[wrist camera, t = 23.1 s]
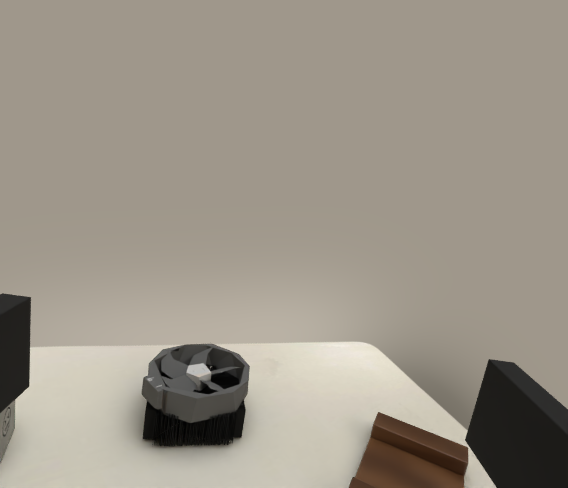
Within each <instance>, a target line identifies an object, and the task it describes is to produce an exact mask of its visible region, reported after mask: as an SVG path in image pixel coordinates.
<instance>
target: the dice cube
mask: <svg viewBox="0 0 568 488" xmlns="http://www.w3.org/2000/svg"><path fill="white" fill-rule="evenodd" d="M14 428H15V400H14V401H13V402H12V403H11V404H10V405H9V406H8V407H7V408H6V409H4V410H3V411H2V412H1V413H0V463H1V460H2V458H3V455H4V453H5V450H6V448H7V446H8V443H9V441H10V438H11V436H12V433H13V431H14Z"/></svg>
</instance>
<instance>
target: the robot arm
mask: <svg viewBox="0 0 568 488" xmlns="http://www.w3.org/2000/svg"><path fill="white" fill-rule="evenodd" d="M30 312H31V297H24V296H16V295H10V294H0V413H1V412H2V411H3V410H4V409H6V408H7V407H8V406H9V405H10V404H11V403H12V402H13V401H14V400H15V399H16V398H17V397H18V396H19V395H20V394H22V393H23V392H24V391H25V390H26V389H27V388H28V387H29V370H30V314H31V313H30ZM465 441H466V442H467V444H468V445H469V447H470V448H471V450H472V451H473V453H474V454H475V456H476V457H477V459H478V460H479V462H480V463H481V465H482V466H483V468H484V469H485V471H486V472H487V474H488V475H489V477H490V478H491V480H492V481H493V483H494V484H495V486H496V487H497V488H568V409H566V408H565V407H564V406H563V405H562V404H561V403H560V402H558V401H557V400H556V399H555V398H554V397H553V396H552V395H550V394H549V393H548V392H547V391H546V390H545V389H544V388H542V387H541V386H540V385H539V384H538V383H537V382H535V381H534V380H533V379H532V378H531V377H530V376H529V375H527V374H526V373H525V372H524V371H523V370H522V369H521V368H519V367H518V366H517V365H516V364H515V363H512V362H505V361H498V360H490V359H489V361H488V364H487V367H486V371H485V374H484V378H483V381H482V384H481V388H480V391H479V395H478V398H477V402H476V405H475V409H474V412H473V415H472V419H471V422H470V425H469V429H468V432H467V436H466V439H465Z"/></svg>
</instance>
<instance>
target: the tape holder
mask: <svg viewBox="0 0 568 488" xmlns="http://www.w3.org/2000/svg"><path fill="white" fill-rule="evenodd" d="M467 466H468V447H465V446H463V445H460V444H458V443H455V442H453V441H450V440H448V439H445V438H443V437H440V436H438V435H435V434H433V433H430V432H428V431H425V430H423V429H420V428H418V427H415V426H413V425H410V424H407V423H405V422H402V421H400V420H397V419H395V418H392V417H390V416H387V415H385V414H382V413H380V412H378V414H377V416H376V419H375V421H374V424H373V428H372V432H371V437H370V439H369V442H368V445H367V447H366V450H365V452H364V455H363V458H362V460H361V463H360V466H359V468H358V471H357V473H356V476H355V477H353V478H352V480H351V483H350V486H349V488H464V476H465V472H466V469H467Z"/></svg>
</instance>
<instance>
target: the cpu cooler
mask: <svg viewBox="0 0 568 488" xmlns="http://www.w3.org/2000/svg"><path fill="white" fill-rule="evenodd" d="M206 366H207V367H206ZM209 366H211V369H210V367H209ZM249 367H250V366H249V365H248V364H247V363H246V362H245V361H244V359H243V358H242V357H241V356H240V355H239V354H237V353H235V352H232V351H230V350H227V349H224V348H222V347H219V346H216V345H214V344H191V345H182V346H177V347H173V348H168V349H163V350H162V351H161V352H160V353H159V354H158V355H157V356H156V357H155V358H154V359H153V360H152V361H151V362H150V363H149V370H148V376H146V377H144V379H143V387H142V395H143V396H144V397H145V399H146V400H147V405H146V411H145V421H144V432H143V439H154V445H155V437H156V441H157V436H158V439H159V435H160V437H161V444H162V436H161V433H162V435H163V439H164V433H163V432H165V439H166V445H167V446H168V444H167V436H168V443H169V446H170V440H171V446H173V444H172V438H173V443H174V446H175V441H177V436H176V433H177V432H178V445H179V446H180V443H181V446H182V441H183V431H184V438H185V445H186V446H187V439H188V445H190V443H191V445H192V442H193V444H194V438H195V444H196V443H197V437H198V445H199V439H200V443H201V445H202V441H203V445H205V443H206V445H207V442H208V445H210V444H211V445H212V442H213V445H215V443H216V442H217V441H218V445H220V442H223V440H224V445H225V442H226V441H227V445H228V442H229V441H230V442H231V440H232V442H233V437H235V438H241V436H242V430H243V423H244V417H245V411H246V410H245V405H244V398H245V397H246V395H247V392H248V380H249ZM178 423H179V431H178ZM175 425H176V426H175ZM182 426H183V428H182ZM168 429H169V433H170V440H169V433H168ZM173 429H174V431H173ZM166 430H167V436H166ZM171 431H172V437H171ZM174 432H175V441H174ZM181 435H182V440H181ZM179 436H180V442H179ZM189 439H190V442H189ZM159 445H160V443H159ZM152 446H153V444H152ZM157 446H158V445H157ZM160 446H161V445H160ZM164 446H165V440H164Z"/></svg>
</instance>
